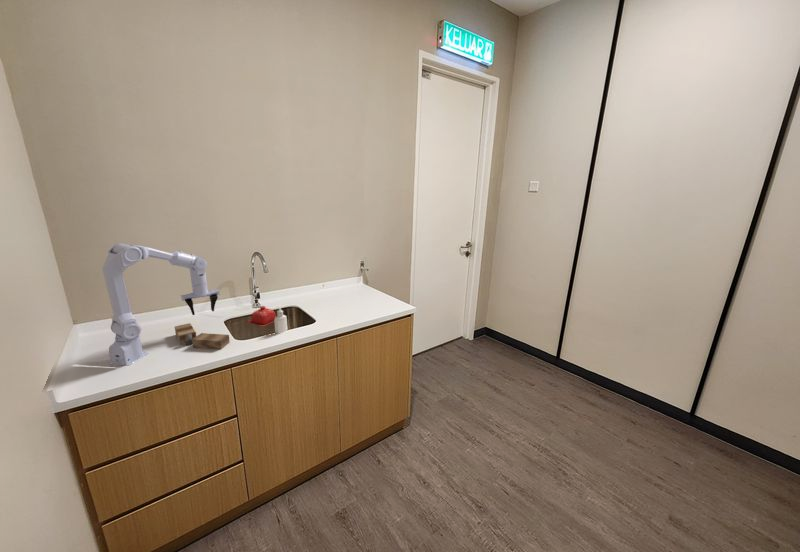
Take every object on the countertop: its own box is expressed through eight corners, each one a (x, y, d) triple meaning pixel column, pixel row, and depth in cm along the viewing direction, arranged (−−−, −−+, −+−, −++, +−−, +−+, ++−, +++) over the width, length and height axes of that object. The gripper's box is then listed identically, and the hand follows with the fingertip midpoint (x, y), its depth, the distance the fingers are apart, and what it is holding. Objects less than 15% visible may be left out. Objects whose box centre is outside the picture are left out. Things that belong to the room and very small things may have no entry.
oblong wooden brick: (229, 343, 142) (228, 334, 141) (221, 350, 136) (220, 341, 135) (202, 341, 143) (201, 333, 142) (193, 348, 137) (192, 339, 136)
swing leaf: (198, 343, 141) (196, 333, 140) (181, 347, 137) (180, 337, 136) (191, 331, 152) (190, 322, 151) (175, 334, 148) (174, 325, 147)
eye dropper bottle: (288, 333, 153) (287, 308, 150) (276, 335, 150) (274, 310, 147) (286, 329, 157) (285, 305, 154) (274, 332, 154) (272, 307, 151)
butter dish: (246, 324, 163) (244, 307, 160) (265, 316, 173) (264, 300, 170) (262, 329, 158) (261, 312, 155) (281, 320, 167) (280, 304, 165)
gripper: (215, 278, 154) (218, 306, 157) (178, 283, 145) (182, 313, 148) (219, 282, 149) (222, 311, 152) (180, 287, 139) (185, 318, 143)
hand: (203, 312), depth 150 cm, fingers open, 7 cm apart
